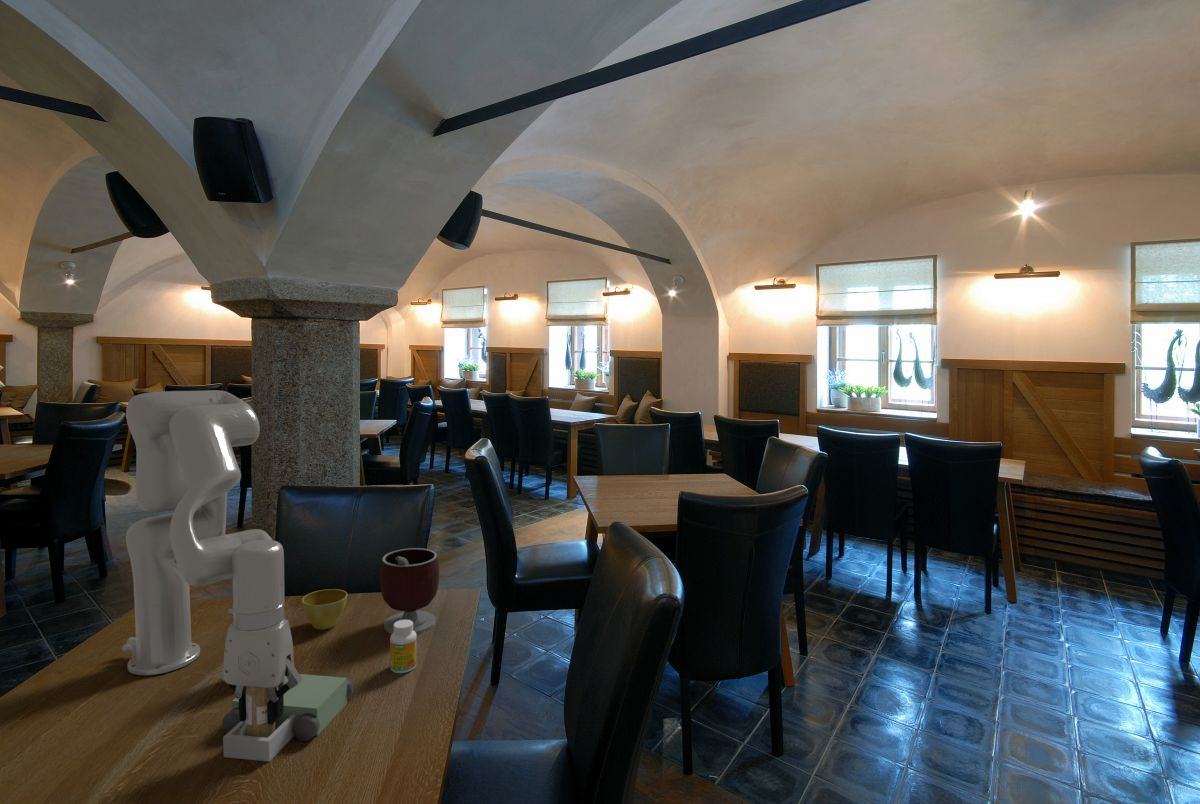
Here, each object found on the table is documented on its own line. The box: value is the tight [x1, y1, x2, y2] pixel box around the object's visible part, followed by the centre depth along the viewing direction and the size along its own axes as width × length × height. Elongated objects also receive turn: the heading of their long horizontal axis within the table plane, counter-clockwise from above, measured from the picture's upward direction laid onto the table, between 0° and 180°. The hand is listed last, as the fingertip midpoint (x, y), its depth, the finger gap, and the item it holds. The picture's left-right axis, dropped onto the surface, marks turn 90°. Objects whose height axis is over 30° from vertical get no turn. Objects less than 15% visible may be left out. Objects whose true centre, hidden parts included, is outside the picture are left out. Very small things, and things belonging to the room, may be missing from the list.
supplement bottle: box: [389, 620, 418, 674], centre depth 128 cm, size 5×5×10 cm
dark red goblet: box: [379, 547, 440, 635], centre depth 147 cm, size 16×14×20 cm
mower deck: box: [222, 673, 355, 762], centre depth 108 cm, size 17×19×5 cm
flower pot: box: [301, 588, 348, 630], centre depth 147 cm, size 10×10×7 cm
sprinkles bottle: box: [246, 686, 276, 738], centre depth 102 cm, size 5×5×13 cm
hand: (261, 717), depth 103 cm, fingers closed on sprinkles bottle, 4 cm apart
